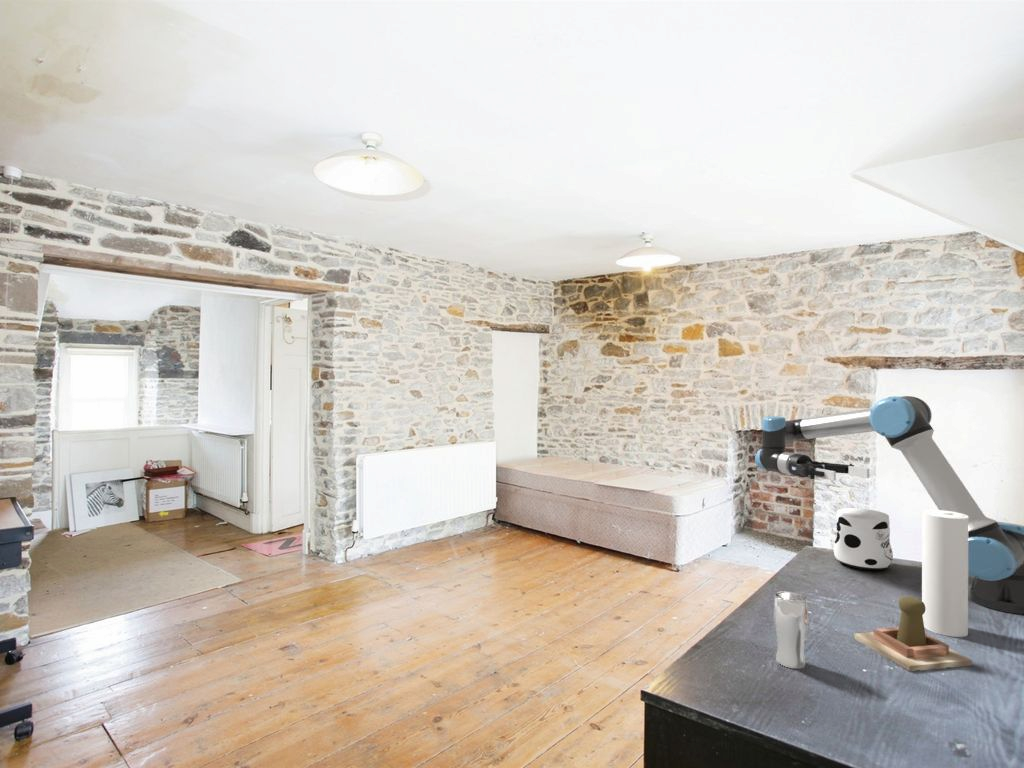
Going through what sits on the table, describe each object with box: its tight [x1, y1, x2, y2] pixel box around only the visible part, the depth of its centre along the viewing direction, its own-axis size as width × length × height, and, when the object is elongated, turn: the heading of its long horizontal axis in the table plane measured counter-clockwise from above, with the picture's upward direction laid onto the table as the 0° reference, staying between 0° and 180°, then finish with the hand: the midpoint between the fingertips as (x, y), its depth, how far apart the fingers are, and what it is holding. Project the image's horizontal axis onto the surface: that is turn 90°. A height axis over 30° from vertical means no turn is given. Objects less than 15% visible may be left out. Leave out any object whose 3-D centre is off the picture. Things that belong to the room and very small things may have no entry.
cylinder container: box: [921, 509, 969, 638], centre depth 145 cm, size 9×9×30 cm
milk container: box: [833, 507, 894, 571], centre depth 194 cm, size 17×17×18 cm
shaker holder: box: [853, 626, 973, 672], centre depth 133 cm, size 16×16×3 cm
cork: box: [897, 596, 927, 647], centre depth 134 cm, size 6×6×11 cm
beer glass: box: [773, 590, 809, 670], centre depth 128 cm, size 7×7×15 cm
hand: (851, 474), depth 172 cm, fingers open, 13 cm apart
